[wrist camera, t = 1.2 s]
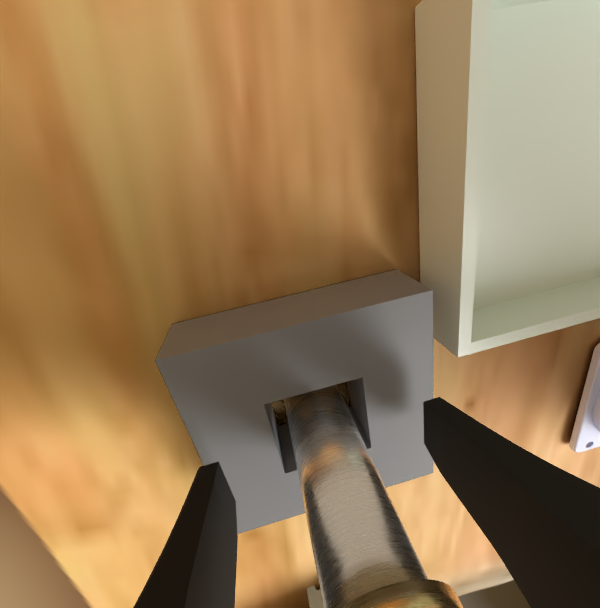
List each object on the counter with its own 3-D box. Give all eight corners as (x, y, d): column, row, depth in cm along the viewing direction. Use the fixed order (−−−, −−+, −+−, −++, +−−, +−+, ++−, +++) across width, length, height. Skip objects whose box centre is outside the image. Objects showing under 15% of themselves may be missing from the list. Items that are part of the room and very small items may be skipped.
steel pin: (337, 347, 13) (491, 615, 5) (346, 403, 14) (479, 686, 6) (265, 366, 13) (306, 682, 5) (280, 421, 14) (334, 742, 6)
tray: (725, -43, 10) (869, -108, 8) (634, 270, 14) (707, 288, 12) (414, 7, 9) (474, -52, 7) (421, 327, 13) (457, 357, 11)
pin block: (396, 269, 12) (433, 289, 10) (405, 430, 16) (433, 472, 13) (172, 323, 11) (154, 360, 9) (236, 480, 15) (235, 534, 13)
